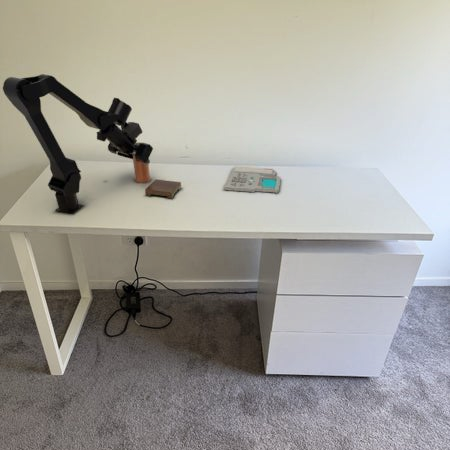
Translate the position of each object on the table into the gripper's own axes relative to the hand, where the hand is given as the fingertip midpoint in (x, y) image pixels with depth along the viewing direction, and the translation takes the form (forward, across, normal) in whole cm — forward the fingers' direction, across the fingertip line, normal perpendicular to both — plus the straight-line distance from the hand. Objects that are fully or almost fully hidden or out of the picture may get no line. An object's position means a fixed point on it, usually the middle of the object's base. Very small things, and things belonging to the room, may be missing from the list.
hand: (143, 160), depth 146 cm
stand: (+1, -15, +8) cm, 17 cm away
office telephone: (+23, -34, -13) cm, 43 cm away
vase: (+4, 0, +6) cm, 7 cm away
